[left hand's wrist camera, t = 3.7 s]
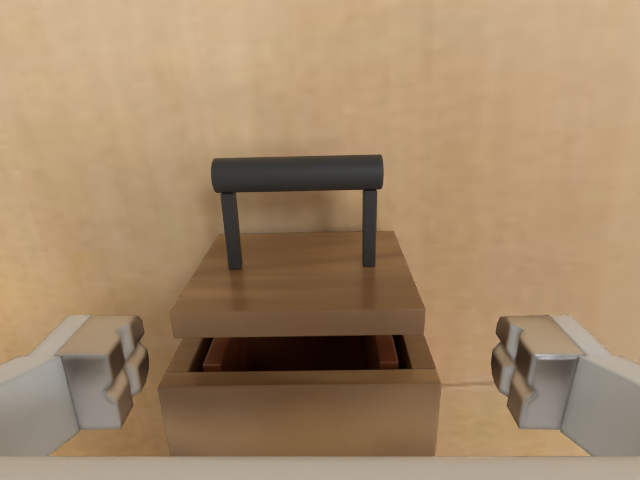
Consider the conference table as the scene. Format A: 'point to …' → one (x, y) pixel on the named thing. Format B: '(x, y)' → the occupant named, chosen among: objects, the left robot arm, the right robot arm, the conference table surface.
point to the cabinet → (302, 407)
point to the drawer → (300, 278)
